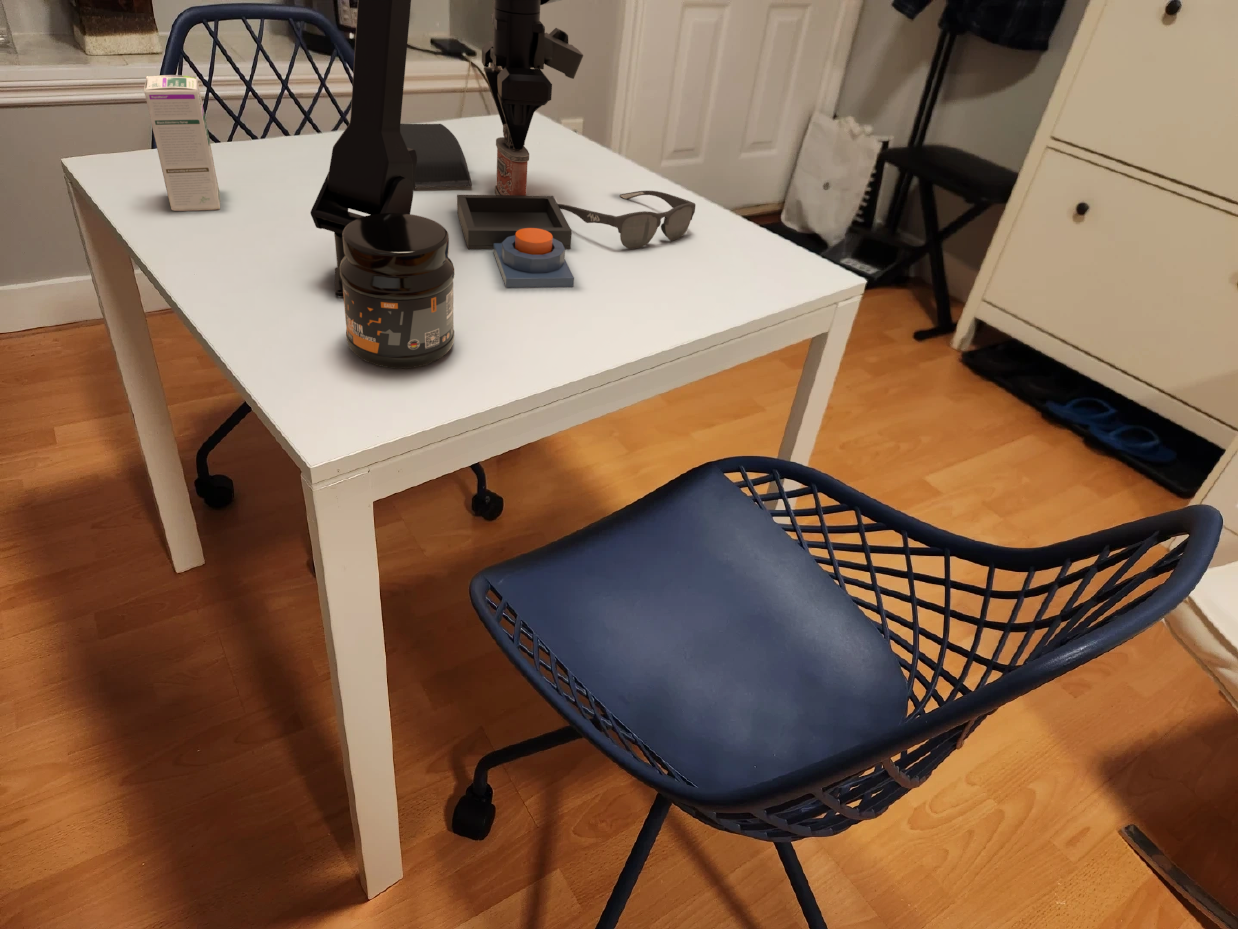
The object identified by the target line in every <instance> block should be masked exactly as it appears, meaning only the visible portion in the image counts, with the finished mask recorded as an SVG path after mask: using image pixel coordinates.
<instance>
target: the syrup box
mask: <svg viewBox="0 0 1238 929" xmlns="http://www.w3.org/2000/svg"><path fill="white" fill-rule="evenodd" d="M198 79H199V78H198V77H196V76H192V75H181V74H163V75H151V76H150V75H146V77H145V82H144V89H143V92H144V96H145V101H146V106H147V109H148V114H149V119H150V123H151V127H152V131H153V132H152V133H153V136H154V141H155V145H156V151H157V154H158V159H159V163H160V167H161V171H162V176H163V180H164V185H165V189H166V192H167V198H168V202H169V206H170V209H171V211H176V212H177V211H180V212H181V211H183V212H186V211H187V212H188V211H211V210H212V211H213V210H220V209H221V194H220V187H219V182H218V177H217V173H216V166H215V161H214V155H213V150H212V144H211V139H210V135H209V129H208V124H207V119H206V115H205V110H204V105H203V100H202V95H201V88H200V84H199V80H198Z"/></svg>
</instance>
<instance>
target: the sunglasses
mask: <svg viewBox="0 0 1238 929" xmlns="http://www.w3.org/2000/svg"><path fill="white" fill-rule="evenodd" d="M641 196H652V197H656V198H660V199H661V200H663V201H664V202H666V203H667V204H668V205H669V206H670V207H671V209H669V210H668V211H664V212H663V211H662V212H654V211H647V210H645V211H644V210H643V211H635V212H629V213H625V214H621V215H613V214H608V213H607V214H606V213H602V212H597V211H593V210H590V209H589V210H588V209H585V208H580V207H577V206H573V205H569V204H562V203H557V204H558V206H559V208H560V210H564V211H567V212H569V213H572V214H574V215H575V216H577V217H578V218H579V219H581V221H583V222H585V223H586V224H602V225H607V226H610V227H613V228H615V229H617V232H618V234H619V238H620V242H621V244H622V245H623V247H624V248H627V249H630V250H633V249H641V248H643V247H644V246H646V245H648V243H649V242H651V240H653V238H654V236H655V235H656V233H657V230H658V228H659V227H660V230H661V232H662V234H664V236H665V237H666V238H667V239H668V240H669V241H671V242H672V241H676V240H679V239H681V238H682V237H683V236H684V235H685V234H686V232H687V230H688V229H689V227H690V223H691V222H692V221H693V217H694V215H695V213H696V203H695V202H694V201H693V202H692V201H690V200H688V199H685V198H683V197H679V196H676V195H673V194H669V193H666V192H662V191H658V190H637V191H631V192H625V193H621V194H619V198H621V199H623V200H630V199H633V198H637V197H641ZM662 219H663V223H662Z"/></svg>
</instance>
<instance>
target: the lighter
mask: <svg viewBox="0 0 1238 929" xmlns="http://www.w3.org/2000/svg"><path fill="white" fill-rule="evenodd" d="M502 134H503V136H500V137H497V138H496V139H495V146H496V149H497V150H496V151H497V152H496V183H495V184H496V185H495V186H494V195H527V184H528V162H529V161H530V152H529V150H528V149H527V147H525V145H526V144H525V143H526V142H525V143H524V146H523V149H514V146H513V143H512V140H511V137H510V134H509V130H508V127H507V124H503V125H502Z"/></svg>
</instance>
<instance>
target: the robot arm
mask: <svg viewBox="0 0 1238 929" xmlns="http://www.w3.org/2000/svg"><path fill="white" fill-rule="evenodd" d="M561 1H562V0H493V12H491V14H490V22H491V24H492V26H493V28H492V29H493V30H492V31H493V36H492V40H488V41H487V42H486V43H484V45H483V46H482V47H481V64H482V66H483V71H484V74H485V77H486V80H487V83H488V86H489V89H490V93H491V95H492V98H493V101H494V104H495V106H496V110H497V112H498V116H499V119H500V122H501V125H502V126H503V124H507V127H508V130H509V134H510V137H511V140H512V143H513V146H514V149H523V146H524V147H525V145H524V143H526V139H527V136H528V133H529V130H530V126H531V123H532V119H533V117H534V115H535V112H537V110H539V109H540V108H541V107H542V106H546V105H547V104H548V103H549V102H550V101H552V93H553V92H552V91H553V83H552V82H551V81H550V79H549V78H548V77H547V76H546V75H545V73H544V72H543V71H542V70H544V69H545V66H547V67H549V68H551V69H554V70H556V71H558V72H560V73H562V74H564V76H565V77H567V78H569V79H573V80H575V77H576V75H577V72H578V70H579V67H580V65H581V62H582V60H583V57H584V54H583V53H582V52H581V51H580V50H579V49H578V48H577V47H575V46H574V45H573V44H569V34H568V33H567V32H566V31H565V30H562V29H560V28H559V27H555V28H554V29H553V30H551V31H550V32H549V33H548V32H546V27H545V25H544V23H542V22H541V6H545V5H548V4H552V3H556V2H561ZM411 5H412V0H357V10H356V23H355V26H356V27H355V40H354V55H353V57H354V59H353V73H352V86H351V104H350V117H349V123H348V125H347V126H346V128H345V129H344V130H343V132H342V133H341V134H340V136H339V137H338V139H337V140H336V142H335V143H334V144H333V146H332V151H331V155H330V162H329V169H328V173H327V174H326V177H325V179H324V181H323V183H322V186H321V188H320V190H319V192H318V194H317V196H316V199H315V200H314V203H313V206H312V207H311V209H310V216H311V218H312V221H313V223H314V226H315V228H317V229H320V230H322V229H323V230H325V231H329V232H332V233H333V234H334V235H333V236H334V244H335V245H334V246H335V255H336V257H335V258H336V266H337V267H335V268H334V292H335V293H334V294H335V296H336V297H344V296H343V285H342V279H341V276H340V263H341V261H342V259H343V258H344V256H345V254H344V248H343V236H342V233H343V230H344V228H345V227H346V226H347V225H348V224H349V223H350V222H352V221H354V220H356V219H358V218H361V217H364V216H365V215H362V214H359V213H363V214H367V215H374V214H382V213H402V214H411V212H412V206H413V200H414V191H415V190H416V189H417V187H416V186H415V170H416V165H417V154H416V151H415V150H414V149H410V148H407V147H406V144H405V142H404V140H403V137H402V135H401V133H400V124H402V123H401V121H402V109H403V99H404V89H405V88H404V87H405V76H406V63H407V62H406V61H407V53H408V43H409V42H408V41H409V29H410V19H411V18H410V17H411ZM349 210H353V211H356V212H359V213H355V212H351V211H349Z"/></svg>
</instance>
